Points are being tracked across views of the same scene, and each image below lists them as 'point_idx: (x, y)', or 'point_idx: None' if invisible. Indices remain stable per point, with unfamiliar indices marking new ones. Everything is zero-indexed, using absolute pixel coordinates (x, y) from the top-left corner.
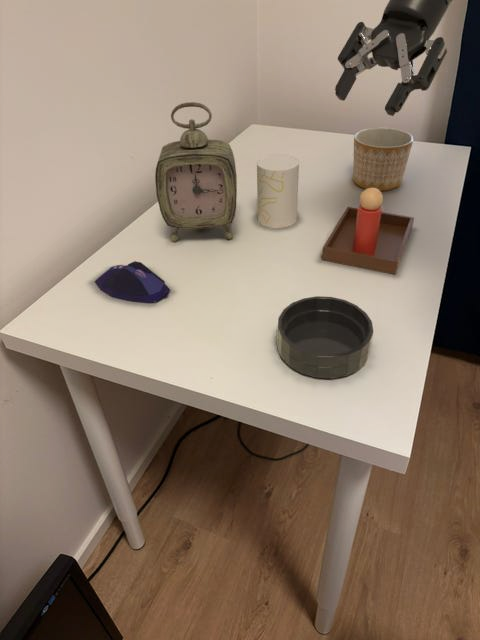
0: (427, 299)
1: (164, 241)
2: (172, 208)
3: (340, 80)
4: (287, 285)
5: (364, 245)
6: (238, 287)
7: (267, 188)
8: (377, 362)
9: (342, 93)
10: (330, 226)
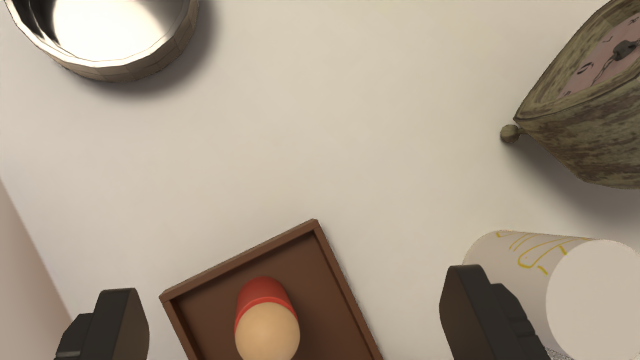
0: (62, 266)
1: None
2: (625, 19)
3: (525, 334)
4: (296, 99)
5: (248, 286)
6: (356, 28)
7: (548, 238)
8: (20, 41)
9: (452, 296)
10: (397, 343)
